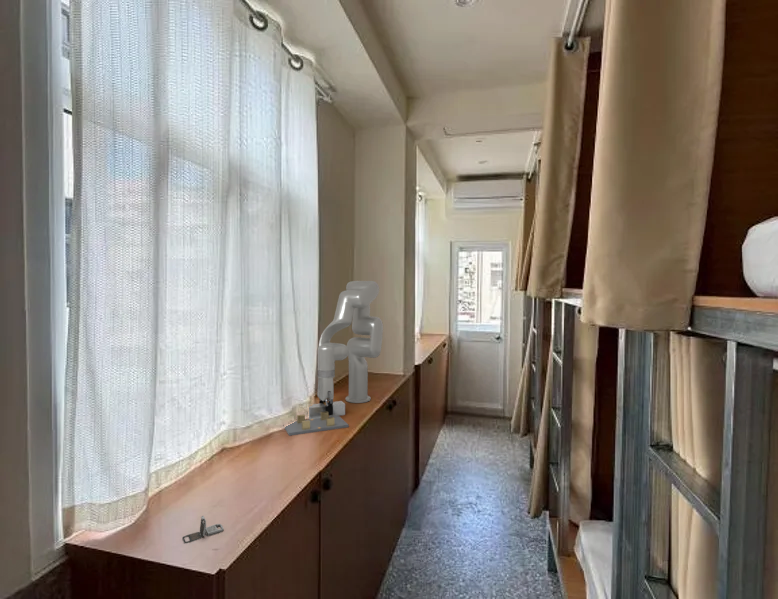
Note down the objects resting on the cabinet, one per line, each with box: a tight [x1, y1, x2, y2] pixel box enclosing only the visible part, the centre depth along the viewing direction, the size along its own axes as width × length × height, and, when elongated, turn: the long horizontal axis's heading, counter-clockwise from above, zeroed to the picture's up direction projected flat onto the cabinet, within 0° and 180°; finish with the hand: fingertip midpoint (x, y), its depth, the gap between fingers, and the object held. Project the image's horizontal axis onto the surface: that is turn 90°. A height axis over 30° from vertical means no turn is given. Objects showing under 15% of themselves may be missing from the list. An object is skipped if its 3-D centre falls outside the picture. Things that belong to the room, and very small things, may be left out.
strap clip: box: [182, 515, 225, 544], centre depth 96 cm, size 8×3×4 cm, turn 126°
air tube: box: [308, 400, 346, 420], centre depth 184 cm, size 5×16×5 cm, turn 115°
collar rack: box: [284, 411, 350, 436], centre depth 170 cm, size 13×24×4 cm, turn 115°
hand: (326, 411), depth 184 cm, fingers open, 9 cm apart
